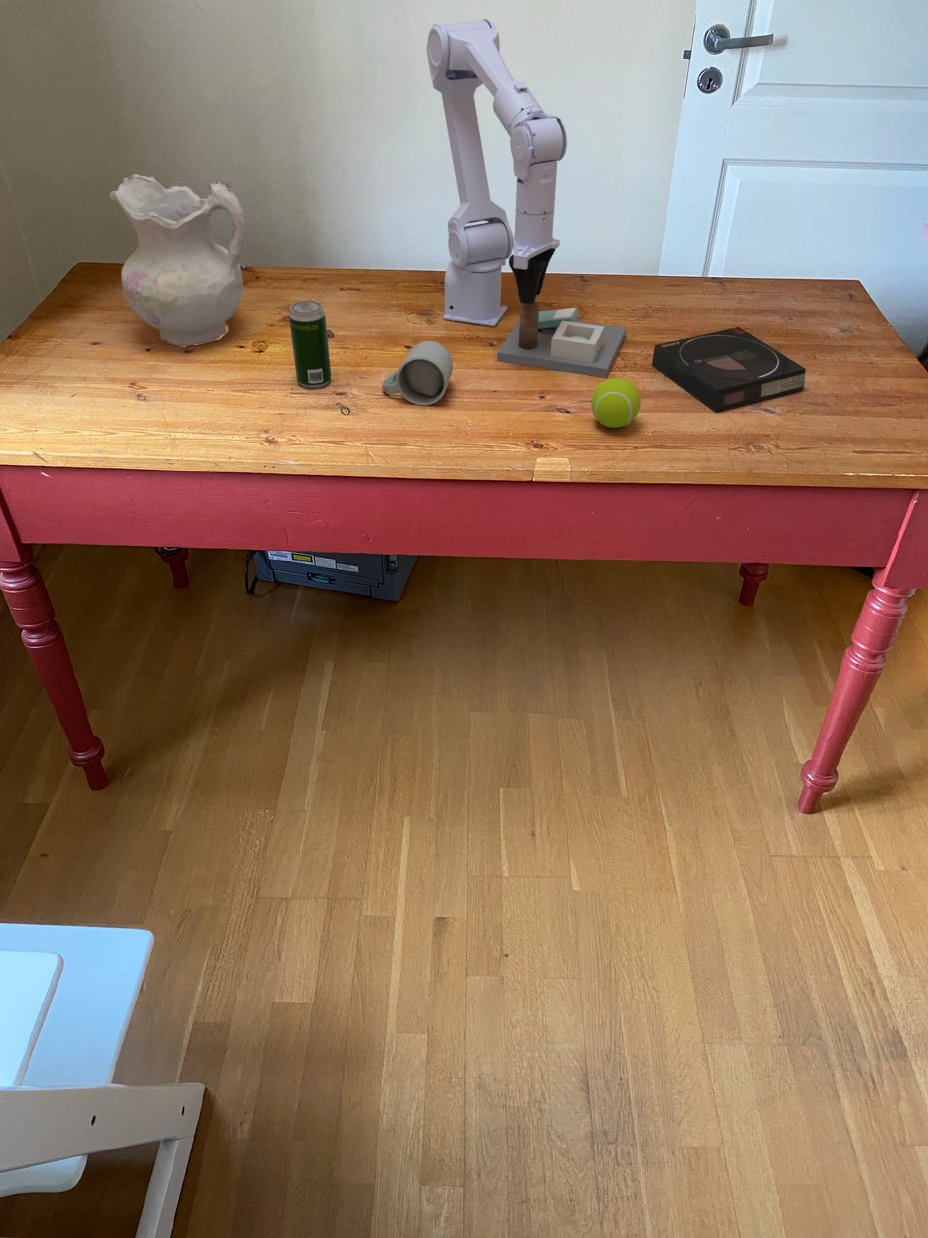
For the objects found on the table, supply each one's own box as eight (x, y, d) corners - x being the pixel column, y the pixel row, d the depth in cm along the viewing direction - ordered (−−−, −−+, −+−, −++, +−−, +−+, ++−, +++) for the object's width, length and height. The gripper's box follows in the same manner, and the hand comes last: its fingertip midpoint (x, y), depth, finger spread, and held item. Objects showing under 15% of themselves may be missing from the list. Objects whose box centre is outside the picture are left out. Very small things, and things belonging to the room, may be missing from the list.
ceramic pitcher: (272, 315, 167) (252, 163, 152) (255, 356, 152) (232, 191, 137) (150, 317, 167) (118, 164, 152) (121, 358, 151) (83, 193, 136)
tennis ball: (633, 439, 134) (639, 395, 129) (585, 432, 135) (589, 388, 130) (640, 416, 139) (646, 372, 134) (593, 409, 140) (598, 366, 136)
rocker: (526, 329, 157) (524, 322, 156) (533, 319, 160) (531, 311, 159) (572, 325, 154) (570, 317, 153) (578, 314, 157) (577, 306, 156)
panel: (496, 360, 152) (497, 334, 149) (523, 321, 163) (524, 296, 160) (605, 377, 148) (609, 350, 145) (625, 335, 159) (628, 310, 156)
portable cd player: (715, 416, 140) (720, 391, 137) (651, 368, 151) (654, 344, 149) (802, 394, 145) (808, 370, 142) (733, 349, 157) (738, 326, 154)
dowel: (516, 348, 152) (518, 306, 147) (520, 340, 154) (522, 298, 150) (535, 350, 152) (537, 308, 147) (538, 342, 154) (541, 300, 149)
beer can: (336, 385, 145) (329, 310, 138) (303, 392, 144) (294, 317, 136) (325, 370, 149) (317, 297, 141) (292, 377, 147) (283, 303, 139)
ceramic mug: (455, 382, 146) (454, 335, 141) (446, 407, 140) (445, 359, 135) (389, 378, 148) (385, 332, 143) (377, 403, 142) (373, 355, 137)
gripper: (548, 227, 133) (543, 319, 142) (572, 196, 143) (565, 284, 152) (501, 222, 134) (498, 313, 143) (527, 191, 145) (523, 278, 154)
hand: (530, 298), depth 148 cm, fingers open, 3 cm apart
